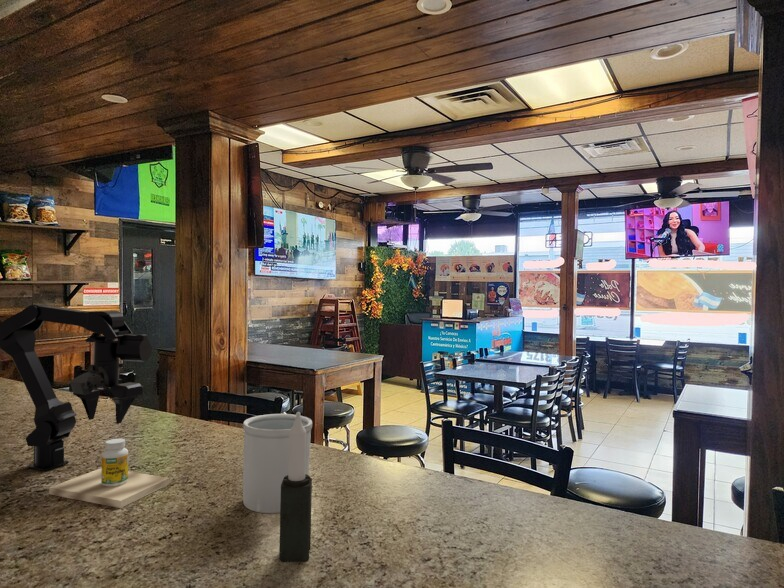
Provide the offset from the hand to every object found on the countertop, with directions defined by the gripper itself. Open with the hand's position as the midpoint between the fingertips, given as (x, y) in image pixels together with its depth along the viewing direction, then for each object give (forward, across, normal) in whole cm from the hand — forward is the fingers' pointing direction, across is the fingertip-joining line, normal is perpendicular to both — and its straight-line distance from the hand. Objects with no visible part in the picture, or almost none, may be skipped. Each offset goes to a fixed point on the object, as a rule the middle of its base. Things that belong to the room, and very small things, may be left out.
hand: (104, 421), depth 128 cm
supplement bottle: (+10, +14, -9) cm, 20 cm away
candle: (+12, +66, -20) cm, 70 cm away
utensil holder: (+12, +51, -1) cm, 52 cm away
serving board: (+12, +13, -10) cm, 20 cm away
